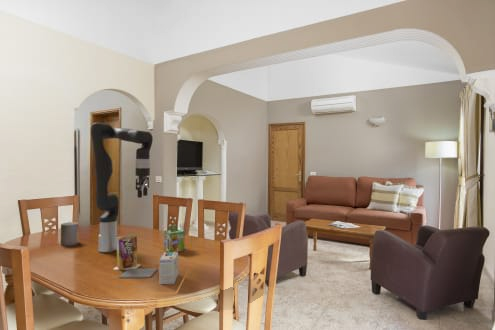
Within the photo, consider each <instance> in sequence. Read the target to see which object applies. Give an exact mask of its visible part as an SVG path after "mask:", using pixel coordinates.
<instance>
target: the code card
mask: <svg viewBox="0 0 495 330" xmlns="http://www.w3.org/2000/svg"><path fill="white" fill-rule="evenodd" d="M140 266H141V264H139V263H137V266H133V267H129V268H125V269H120V270H121V271H122V270H124V271H126V270H127V269H139V267H140ZM112 270H113V271H118V270H119V269H118V268H117V266H115V267H114V268H113V269H112ZM120 270H119V271H120Z"/></svg>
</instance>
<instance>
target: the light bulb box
mask: <svg viewBox="0 0 495 330" xmlns="http://www.w3.org/2000/svg"><path fill="white" fill-rule="evenodd" d="M158 263H159V264H158V266H159V271H158V272H159V273H158V274H159V279H158V280H159V281H158V282H159V283H158V284H159V285H174V284H175V283H176V280H177V278H178V276H179V252H167V251H165V252H163V253H162V256H161V257H160V258H159V259H158Z"/></svg>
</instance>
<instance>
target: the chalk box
mask: <svg viewBox="0 0 495 330" xmlns="http://www.w3.org/2000/svg"><path fill="white" fill-rule="evenodd" d="M173 228H175V229H173ZM185 235H186V234H185V231H184V230H181V229H179V228H178V225H177V224H174V225H169V230H164V235H163V236H164V237H163V240H164V241H163V242H164V251H165V252H178V253H180V252H185V237H186V236H185Z"/></svg>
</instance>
